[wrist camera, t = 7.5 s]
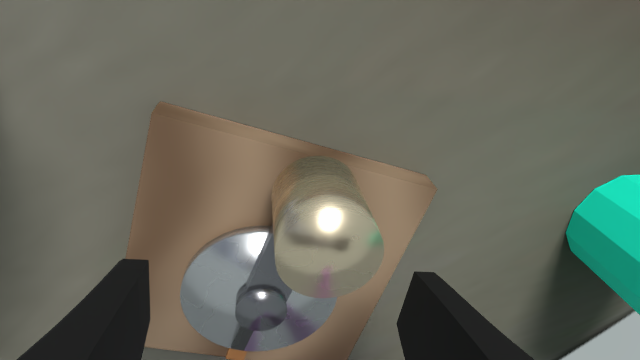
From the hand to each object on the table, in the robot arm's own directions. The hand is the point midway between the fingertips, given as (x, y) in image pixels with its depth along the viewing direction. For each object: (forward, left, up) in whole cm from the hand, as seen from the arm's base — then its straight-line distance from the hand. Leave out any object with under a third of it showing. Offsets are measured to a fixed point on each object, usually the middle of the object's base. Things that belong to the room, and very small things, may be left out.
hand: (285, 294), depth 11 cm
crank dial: (+1, -4, -7) cm, 9 cm away
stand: (+1, -5, -9) cm, 11 cm away
